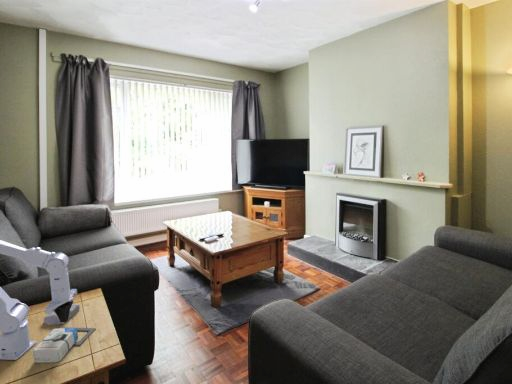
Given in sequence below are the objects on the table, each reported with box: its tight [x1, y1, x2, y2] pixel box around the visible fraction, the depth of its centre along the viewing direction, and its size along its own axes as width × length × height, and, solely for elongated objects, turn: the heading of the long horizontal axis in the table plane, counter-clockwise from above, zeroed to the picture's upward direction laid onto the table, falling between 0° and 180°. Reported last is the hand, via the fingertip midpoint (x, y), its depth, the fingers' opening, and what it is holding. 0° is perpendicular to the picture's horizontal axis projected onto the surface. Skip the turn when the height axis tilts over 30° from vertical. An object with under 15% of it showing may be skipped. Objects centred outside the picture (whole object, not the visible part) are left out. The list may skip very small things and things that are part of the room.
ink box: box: [32, 327, 79, 364], centre depth 107 cm, size 8×5×12 cm
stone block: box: [43, 303, 81, 326], centre depth 129 cm, size 12×5×10 cm
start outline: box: [61, 326, 97, 347], centre depth 115 cm, size 10×14×1 cm
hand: (64, 321), depth 112 cm, fingers closed
